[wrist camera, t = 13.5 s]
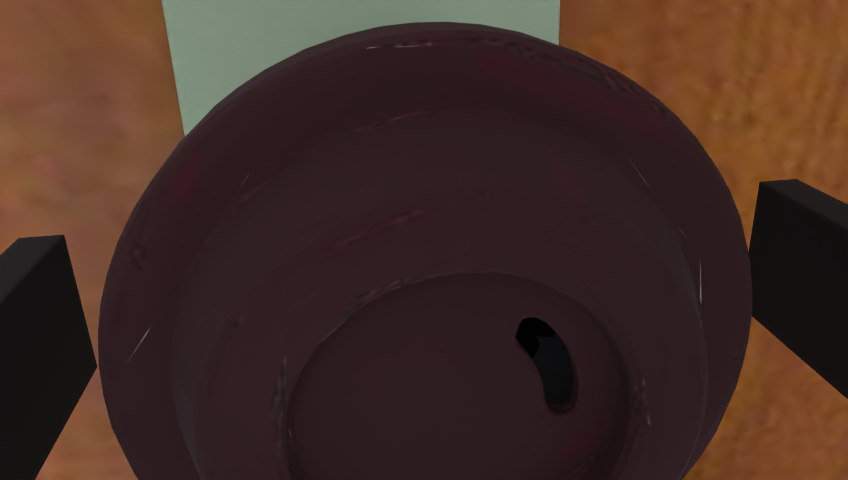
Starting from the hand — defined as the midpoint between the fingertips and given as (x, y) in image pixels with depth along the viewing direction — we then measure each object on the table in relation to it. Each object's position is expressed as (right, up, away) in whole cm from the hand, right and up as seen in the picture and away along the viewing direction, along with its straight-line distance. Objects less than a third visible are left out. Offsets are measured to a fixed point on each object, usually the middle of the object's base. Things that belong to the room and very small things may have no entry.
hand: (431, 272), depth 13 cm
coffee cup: (-2, +4, +10) cm, 10 cm away
